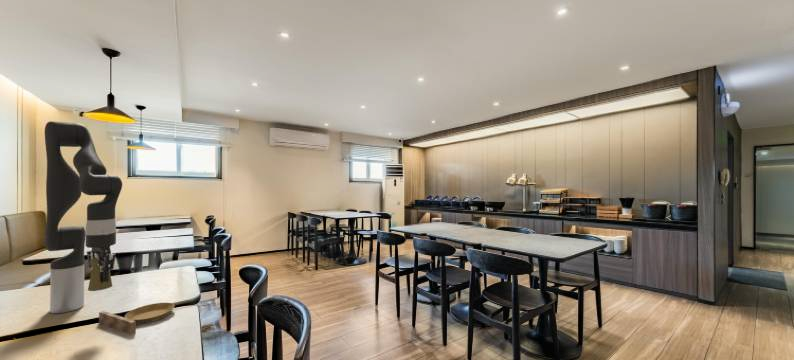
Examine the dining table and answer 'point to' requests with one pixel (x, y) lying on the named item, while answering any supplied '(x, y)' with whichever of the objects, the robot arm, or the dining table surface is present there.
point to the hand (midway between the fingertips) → (100, 281)
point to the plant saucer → (150, 312)
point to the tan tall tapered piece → (97, 277)
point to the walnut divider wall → (117, 322)
